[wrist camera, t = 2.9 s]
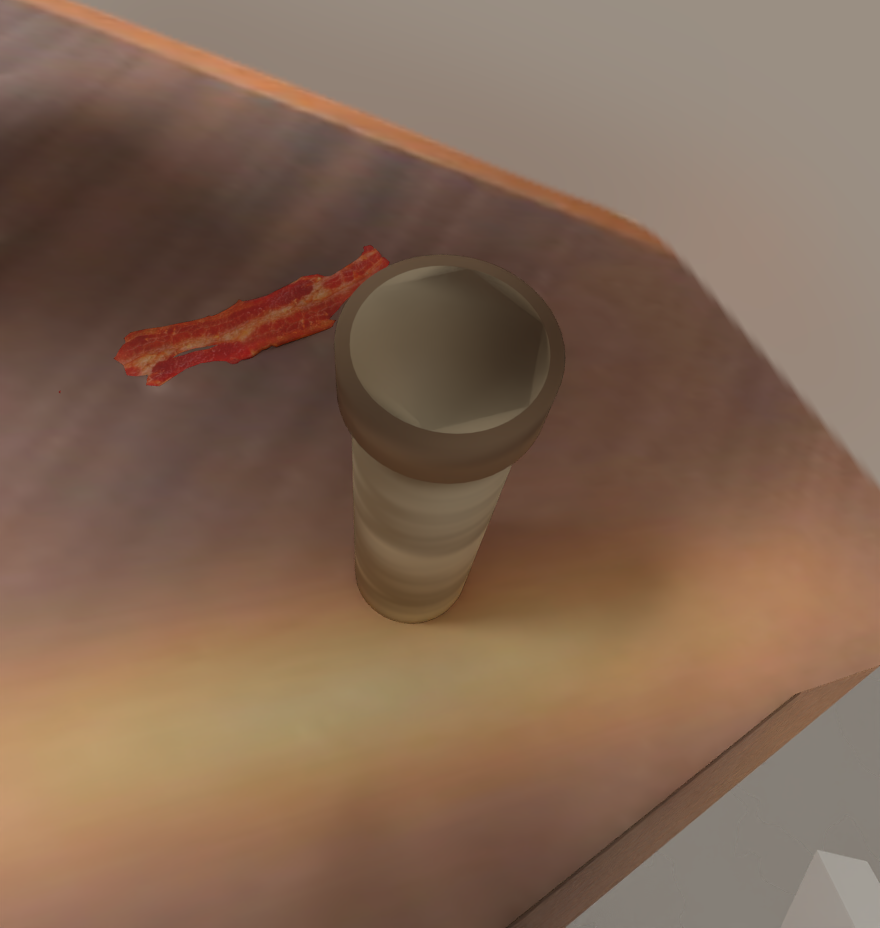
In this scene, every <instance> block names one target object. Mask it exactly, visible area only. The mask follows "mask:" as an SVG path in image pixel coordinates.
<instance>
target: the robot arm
mask: <svg viewBox="0 0 880 928" xmlns="http://www.w3.org/2000/svg"><path fill="white" fill-rule="evenodd" d="M780 928H880V883H879V881H878V880H877V878H876V876H875V874H874V872H873V871H872V869H871V867H870V865H869V864H868V862H867V861H863V860H859V859H855V858H850V857H846V856H842V855H837V854H833V853H829V852H825V851H820V850H816V852H815V854H814V856H813V859H812V861H811V863H810V865H809V867H808V869H807V871H806V874H805V876H804V878H803V880H802V882H801V884H800V887H799V889H798V891H797V893H796V895H795V897H794V899H793V902H792V904H791V906H790V908H789V910H788V912H787V914H786V917H785V919H784V921H783V923H782V925H781V927H780Z"/></svg>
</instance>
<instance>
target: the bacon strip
mask: <svg viewBox="0 0 880 928" xmlns="http://www.w3.org/2000/svg"><path fill="white" fill-rule="evenodd" d="M363 248H364V252H363V253H362V255H361V256H360V257H359V258H358V259H357V260H355V261H354V262H352V263H351V264H349V265H347V266H346V267H344V268H343V269H341V270H340V271H338V272H337V273H335V274H333V275H332V276H322V275H319V274H315V275H309V276H302V277H300V278H299V279H298V280H296V281H294V282H292V283H291V284H289V285H287V286H285V287H283V288H281V289H279V290H277V291H275V292H273V293H271V294H269V295H267V296H263V297H260V298H256V299H252V300H248V301H241V300H238V301H237V303H236V304H234V305H233V306H231V307H230V308H228V309H226V310H224V311H223V312H221V313H219V314H216V315H213V316H207V317H205V318H202V319H198V320H193V321H188V322H183V323H178V324H173V325H169V326H164V327H157V328H150V329H144V330H139V331H135V332H130V333H129V334H128V335H127V336H126V337H125V338H124V339H125V344H124V345H123V346H122V347H121V348H120V350H119V352H118V353H117V355H116V357H115V358H114V359H115V360H117V361H118V362H120V363H121V364H122V365H124V368H125V371H126V374H127V375H129V376H143V375H148V378H147V383H146V385H151V386H161V385H162V384H164V383H165V382H167V381H168V380H170V379H171V378H173V377H174V376H176V375H177V374H179V373H180V372H182V371H183V370H185V369H187V368H189V367H192V366H194V365H197V364H200V363H205V362H211V361H227V362H228V363H230V364H236V363H238V362H239V361H240V360H245V359H250V358H252V357H254V356H255V355H256V354H258V353H259V352H260V351H261V350H265V349H267V348H269V347H270V346H275V347H278V346H280V345H283V344H286V343H289V342H292V341H295V340H298V339H301V338H304V337H307V336H310V335H313V334H315V333H318V332H321V331H324V330H326V329H329V328H331V327H332V326H333V324H334V322H335V321H336V320H330V318H331V317H332V315H333V314H334V313H335V312H336V311H337V310H338V309H339V308H340V306H341V305H342V304H343V303H344V302H345V301H346V300H347V299H348V298H349V297H350V296H351V295H352V294H353V293H354V291H355V290H356V289H357V288H358V287H359V286H360V285H361V284H362V283H363V282H364V281H365V280H367V279H368V278H369V277H371V276H372V275H374V274H375V273H376V272H378V271H380V270H382V269H384V268H386V267H387V266H388V265H389V263H390V262H389V261H388V260H387V259H385V258H384V257H381V254H380V253H379V252H378V251H377V250H376V249H374V248H373V246H371V245H368V246H364V247H363ZM367 273H368V274H367ZM217 344H218V345H217ZM212 345H217V346H214V347H212V348H210V349H206V350H200V351H194V352H191V353H188V354H185V355H182V356H178V357H174V356H176V355H177V354H179V353H182V352H185V351H188V350H191V349H194V348H200V347H206V346H212ZM173 357H174V358H173ZM59 393H60V391H59Z"/></svg>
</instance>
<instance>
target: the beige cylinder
mask: <svg viewBox="0 0 880 928" xmlns="http://www.w3.org/2000/svg"><path fill="white" fill-rule="evenodd" d="M334 351H335V369H336V387H337V400H338V404H339V408H340V412H341V415H342V417H343V420H344V422H345V425H346V426H347V428H348V430H349V432H350V433H351V435H352V463H353V504H354V545H355V575H356V581H357V585H358V588H359V590H360V592H361V594H362V596H363V598H364V599H365V600H366V602H367V603H368V604H369V605H370V606H371V607H372V608H373V609H374V610H375V611H376V612H378V613H379V614H381V615H382V616H384V617H386V618H388V619H391V620H394V621H397V622H402V623H421V622H425V621H429V620H431V619H434V618H436V617H438V616H440V615H442V614H443V613H444V612H446V611H447V610H448V609H449V608H450V607H451V606H452V605H453V604H454V603H455V602H456V600H457V599H458V597H459V595H460V594H461V591H462V589H463V586H464V584H465V581H466V579H467V576H468V574H469V571H470V569H471V566H472V564H473V561H474V559H475V556H476V554H477V551H478V549H479V546H480V544H481V541H482V539H483V536H484V534H485V531H486V529H487V526H488V524H489V521H490V519H491V516H492V514H493V511H494V509H495V506H496V504H497V501H498V499H499V496H500V494H501V491H502V489H503V486H504V484H505V481H506V479H507V476H508V474H509V471H510V469H511V466H512V464H513V463H515V462H516V461H517V460H518V459H519V458H521V457H522V456H523V455H524V454H525V453H526V452H527V450H528V449H529V448H530V447H531V446H532V444H533V443H534V441H535V440H536V438H537V437H538V435H539V433H540V431H541V429H542V426H543V424H544V422H545V419H546V417H547V415H548V413H549V410H550V408H551V406H552V403H553V401H554V399H555V396H556V394H557V392H558V389H559V387H560V385H561V382H562V378H563V373H564V367H565V349H564V342H563V338H562V334H561V331H560V328H559V326H558V323H557V321H556V319H555V317H554V315H553V314H552V312H551V310H550V309H549V307H548V306H547V305H546V303H545V302H544V300H543V299H542V298H541V297H540V296H539V295H538V294H537V293H536V292H535V291H534V290H533V289H532V288H531V287H530V286H529V285H527V284H526V283H525V282H524V281H522V280H521V279H519V278H518V277H516V276H515V275H513V274H512V273H510V272H508V271H506V270H504V269H502V268H500V267H498V266H496V265H493V264H491V263H488V262H485V261H482V260H478V259H474V258H470V257H464V256H458V255H426V256H419V257H414V258H410V259H406V260H402V261H400V262H397V263H394V264H392V265H389V266H387V267H386V268H384V269H382V270H380V271H378V272H376V273H375V274H374V275H372V276H371V277H369V278H368V279H367V280H365V281H364V282H363V283H362V284H361V285H360V286H359V287H358V288H357V289H356V290H355V291H354V293H353V294H352V295H351V296H350V297H349V299H348V301H347V302H346V304H345V306H344V307H343V309H342V312H341V314H340V316H339V319H338V322H337V326H336V331H335V340H334Z"/></svg>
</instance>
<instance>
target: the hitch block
mask: <svg viewBox="0 0 880 928" xmlns="http://www.w3.org/2000/svg"><path fill="white" fill-rule="evenodd" d="M816 850H820V851H825V852H829V853H833V854H837V855H842V856H846V857H850V858H855V859H859V860H863V861H867V862H868V864H869V865H870V867H871V869H872V871H873V872H874V874H875V876H876V878H877V880H878V881H879V883H880V665H879V666H876V667H874V668H871V669H868V670H865V671H862V672H859V673H856V674H853V675H850V676H847V677H845V678H842V679H839V680H836V681H833V682H830V683H827V684H824V685H821V686H818V687H815V688H813V689H810V690H807V691H804V692H801V693H798V694H795V695H794V696H793V697H791V698H790V699H789V700H788V701H786V702H785V703H784V704H783V705H781V706H780V707H779V708H778V709H777V710H775V711H774V712H773V713H772V714H770V715H769V716H768V717H767V718H765V719H764V720H763V721H762V722H760V723H759V724H758V725H757V726H755V727H754V728H753V729H752V730H751V731H749V732H748V733H747V734H746V735H744V736H743V737H742V738H741V739H739V740H738V741H737V742H736V743H734V744H733V745H732V746H731V747H729V748H728V749H727V750H726V751H724V752H723V753H722V754H721V755H720V756H718V757H717V758H716V759H715V760H713V761H712V762H711V763H710V764H708V765H707V766H706V767H705V768H703V769H702V770H701V771H700V772H698V773H697V774H696V775H695V776H694V777H692V778H691V779H690V780H689V781H687V782H686V783H685V784H684V785H682V786H681V787H680V788H679V789H677V790H676V791H675V792H674V793H672V794H671V795H670V796H669V797H667V798H666V799H665V800H664V801H663V802H661V803H660V804H659V805H658V806H656V807H655V808H654V809H653V810H651V811H650V812H649V813H648V814H646V815H645V816H644V817H643V818H641V819H640V820H639V821H638V822H637V823H635V824H634V825H633V826H632V827H630V828H629V829H628V830H627V831H625V832H624V833H623V834H622V835H620V836H619V837H618V838H617V839H615V840H614V841H613V842H612V843H610V844H609V845H608V846H607V847H606V848H604V849H603V850H602V851H601V852H599V853H598V854H597V855H596V856H594V857H593V858H592V859H591V860H589V861H588V862H587V863H586V864H584V865H583V866H582V867H581V868H579V869H578V870H577V871H576V872H575V873H573V874H572V875H571V876H570V877H568V878H567V879H566V880H565V881H563V882H562V883H561V884H560V885H558V886H557V887H556V888H555V889H553V890H552V891H551V892H550V893H549V894H547V895H546V896H545V897H544V898H542V899H541V900H540V901H539V902H537V903H536V904H535V905H534V906H532V907H531V908H530V909H529V910H527V911H526V912H525V913H524V914H522V915H521V916H520V917H519V918H518V919H516V920H515V921H514V922H513V923H511V924H510V925H509V926H508V927H506V928H780V927H781V925H782V923H783V921H784V919H785V917H786V914H787V912H788V910H789V908H790V906H791V904H792V902H793V899H794V897H795V895H796V893H797V891H798V889H799V887H800V884H801V882H802V880H803V878H804V876H805V874H806V871H807V869H808V867H809V865H810V863H811V861H812V859H813V856H814V854H815V852H816Z"/></svg>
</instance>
